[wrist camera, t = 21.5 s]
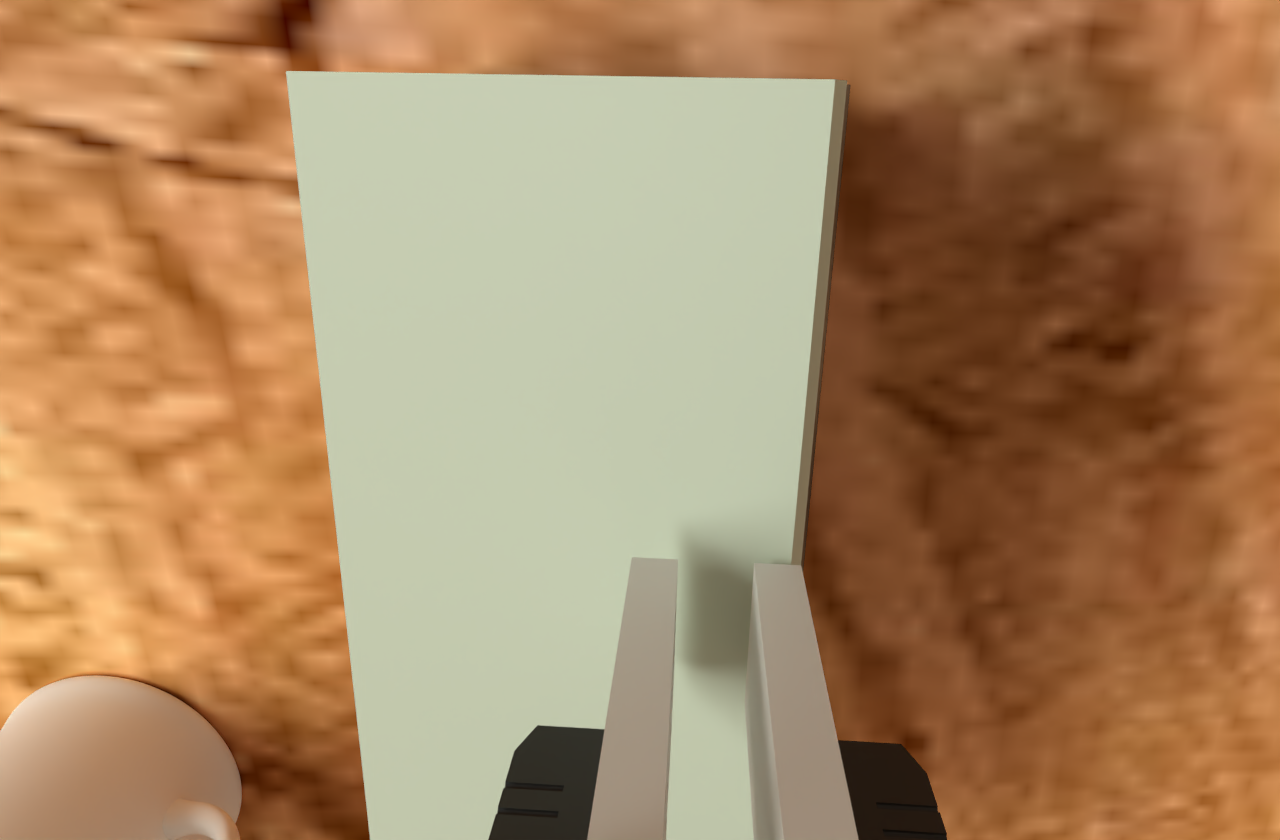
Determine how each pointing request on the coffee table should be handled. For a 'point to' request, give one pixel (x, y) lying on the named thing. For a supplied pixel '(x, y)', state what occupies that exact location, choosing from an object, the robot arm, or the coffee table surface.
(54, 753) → the mug
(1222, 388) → the coffee table surface
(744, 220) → the lid
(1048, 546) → the coffee table surface
